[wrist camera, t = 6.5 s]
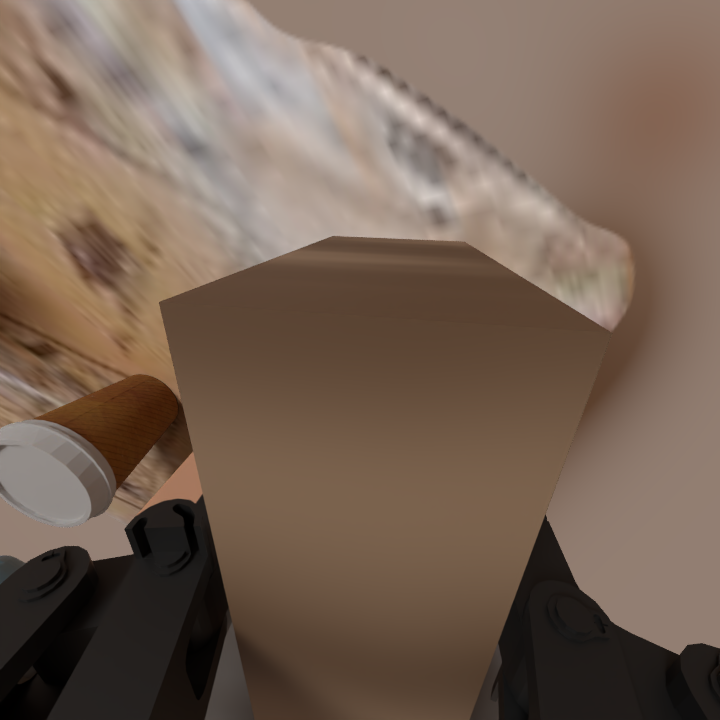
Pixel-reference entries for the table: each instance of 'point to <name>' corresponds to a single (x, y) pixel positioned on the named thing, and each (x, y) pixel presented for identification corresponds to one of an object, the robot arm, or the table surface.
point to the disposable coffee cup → (82, 450)
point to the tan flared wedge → (374, 468)
